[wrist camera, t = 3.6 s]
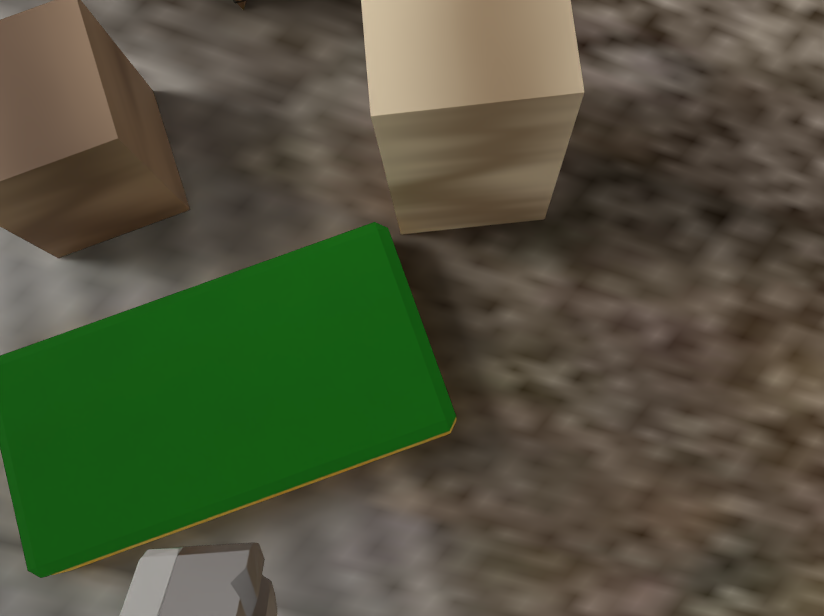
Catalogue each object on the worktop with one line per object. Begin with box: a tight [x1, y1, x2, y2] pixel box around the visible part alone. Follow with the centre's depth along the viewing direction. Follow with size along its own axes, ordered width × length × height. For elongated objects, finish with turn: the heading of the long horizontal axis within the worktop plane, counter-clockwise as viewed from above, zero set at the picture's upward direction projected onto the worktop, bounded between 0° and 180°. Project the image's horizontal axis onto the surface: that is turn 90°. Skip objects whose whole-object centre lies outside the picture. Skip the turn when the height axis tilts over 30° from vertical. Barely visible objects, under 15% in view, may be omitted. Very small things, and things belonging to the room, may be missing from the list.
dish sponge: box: [0, 222, 457, 578], centre depth 25 cm, size 7×14×2 cm, turn 109°
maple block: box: [361, 0, 584, 234], centre depth 23 cm, size 5×5×9 cm
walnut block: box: [0, 0, 190, 258], centre depth 25 cm, size 5×5×6 cm
